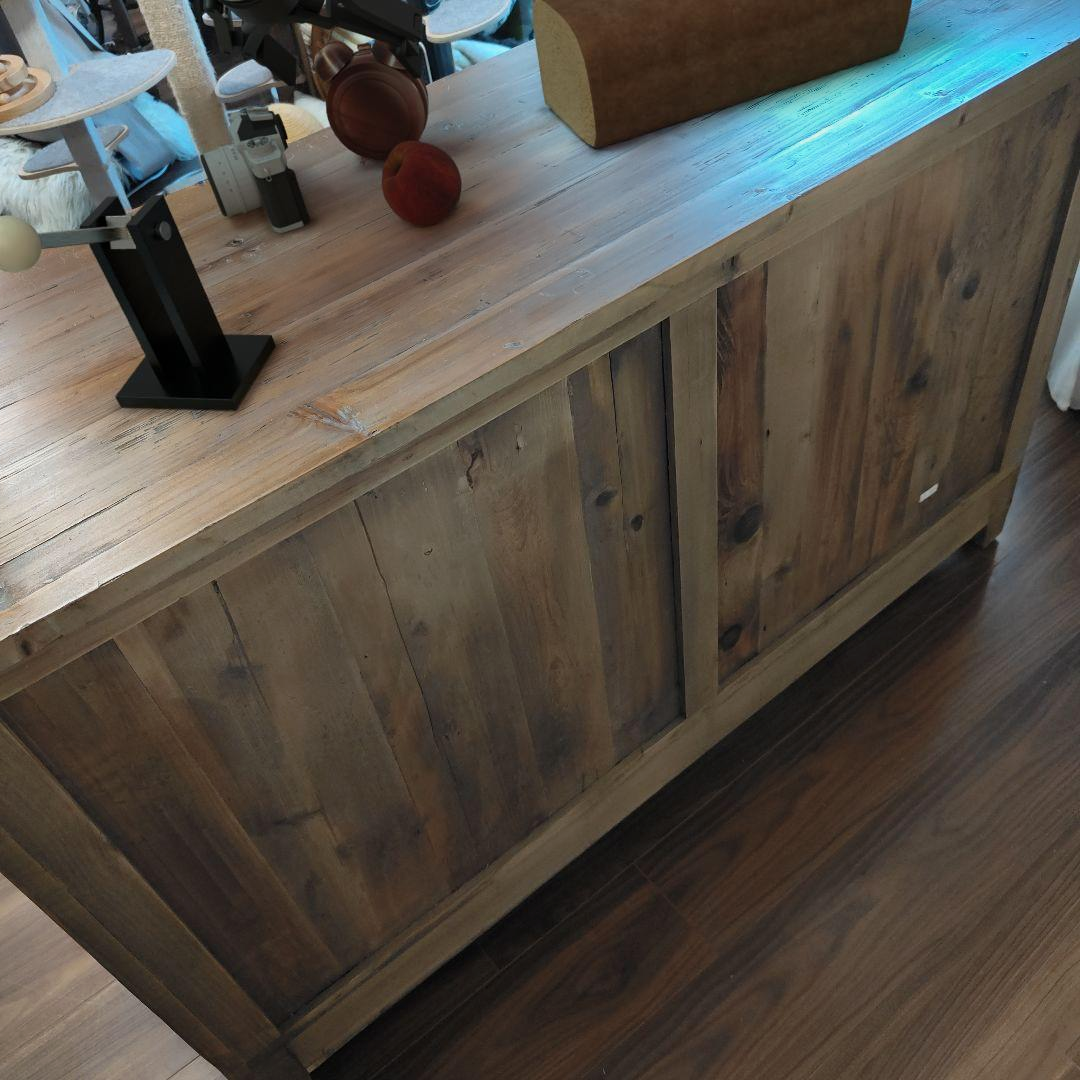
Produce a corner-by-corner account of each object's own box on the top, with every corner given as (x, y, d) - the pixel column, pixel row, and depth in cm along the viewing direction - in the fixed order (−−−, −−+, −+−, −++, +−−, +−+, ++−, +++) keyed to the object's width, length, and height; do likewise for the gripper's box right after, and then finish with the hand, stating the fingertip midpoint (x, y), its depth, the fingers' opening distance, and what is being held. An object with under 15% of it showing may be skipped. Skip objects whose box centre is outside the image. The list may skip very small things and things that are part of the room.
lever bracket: (236, 411, 84) (159, 241, 72) (120, 407, 86) (28, 242, 75) (276, 345, 89) (210, 178, 78) (167, 344, 92) (88, 182, 81)
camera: (212, 190, 112) (176, 101, 105) (289, 165, 114) (259, 76, 107) (237, 251, 102) (200, 157, 95) (321, 224, 104) (291, 129, 96)
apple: (387, 212, 104) (367, 136, 98) (460, 193, 104) (444, 117, 98) (397, 246, 98) (377, 169, 93) (474, 227, 99) (459, 149, 93)
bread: (539, 105, 116) (522, -21, 106) (832, 14, 123) (841, -113, 113) (594, 157, 106) (581, 23, 96) (911, 54, 112) (929, -81, 103)
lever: (20, 275, 64) (8, 216, 63) (-27, 275, 65) (-40, 217, 64) (166, 253, 79) (159, 205, 78) (126, 254, 80) (118, 206, 79)
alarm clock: (441, 143, 113) (410, 0, 102) (436, 163, 110) (404, 18, 99) (346, 154, 114) (307, 14, 103) (339, 175, 111) (297, 32, 100)
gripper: (106, 17, 84) (241, 113, 104) (386, -7, 78) (471, 100, 98) (108, -76, 83) (243, 38, 104) (390, -107, 77) (474, 21, 98)
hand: (354, 68), depth 101 cm, fingers open, 13 cm apart
